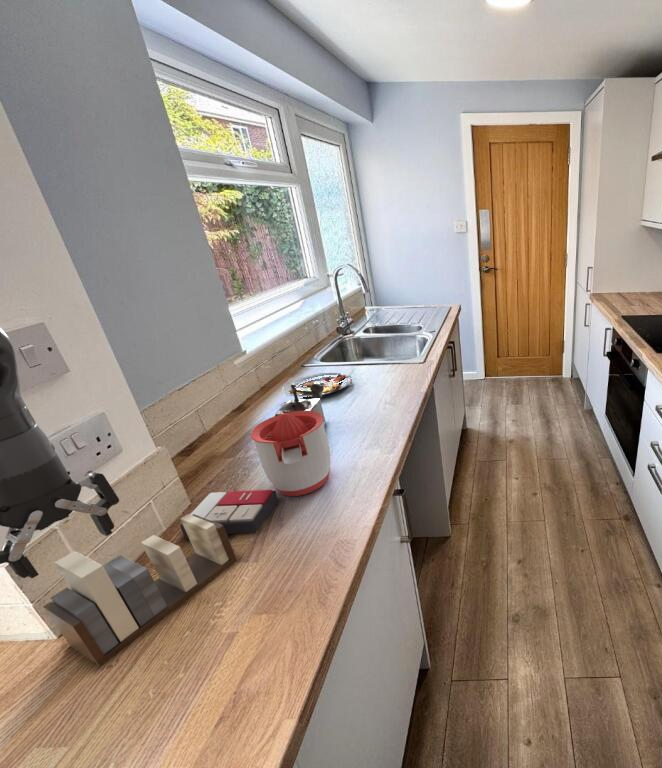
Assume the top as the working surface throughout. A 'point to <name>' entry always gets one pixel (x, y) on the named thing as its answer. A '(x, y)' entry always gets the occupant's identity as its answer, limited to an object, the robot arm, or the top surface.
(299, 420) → the citrus juicer
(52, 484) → the robot arm
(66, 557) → the pale book
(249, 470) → the top surface
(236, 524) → the calculator
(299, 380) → the food plate
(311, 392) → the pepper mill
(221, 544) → the book trough
